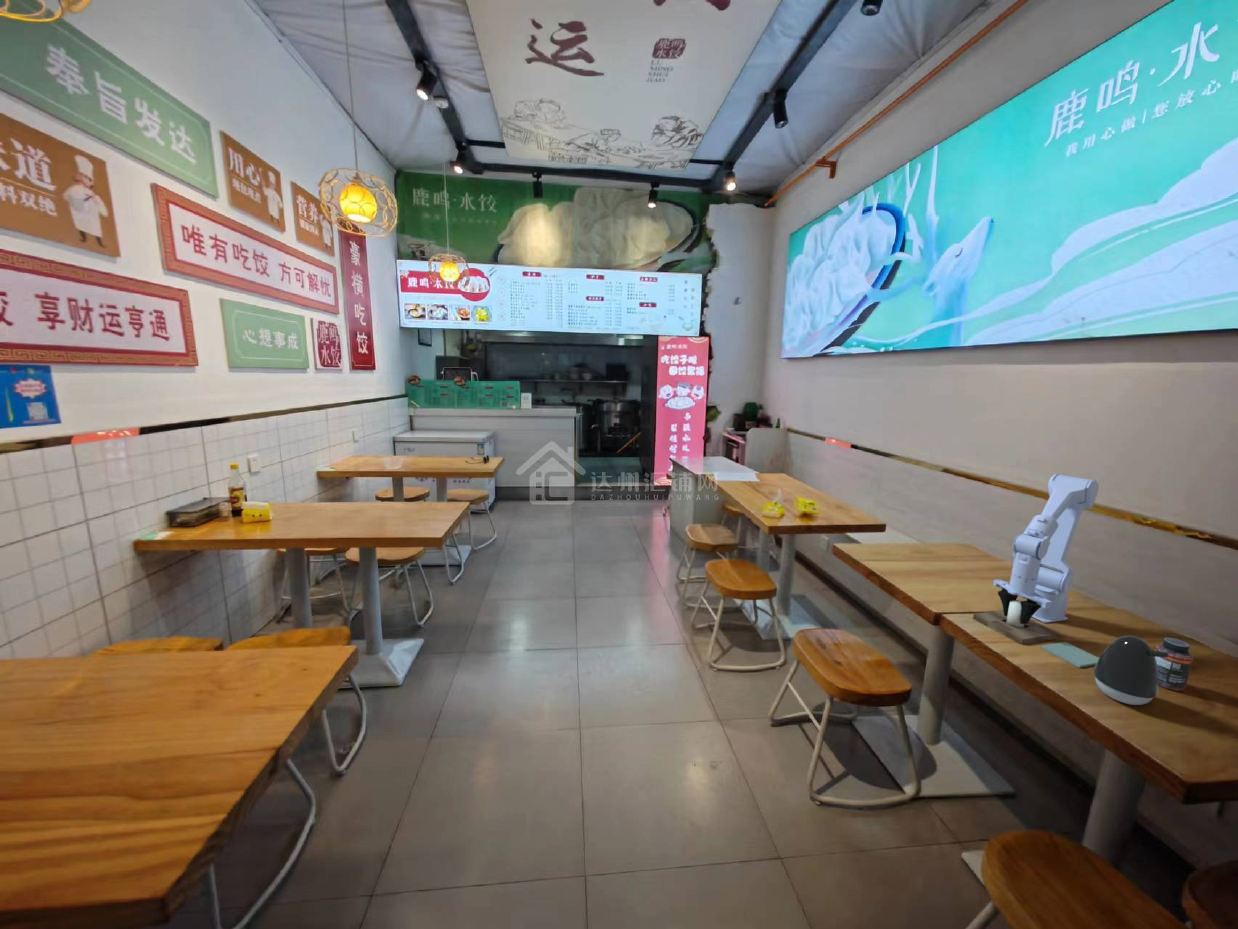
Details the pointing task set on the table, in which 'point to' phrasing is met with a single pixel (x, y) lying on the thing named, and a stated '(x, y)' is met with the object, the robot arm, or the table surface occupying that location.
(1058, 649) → the rubber mat
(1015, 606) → the white cylinder
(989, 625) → the socket board
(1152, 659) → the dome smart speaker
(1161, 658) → the supplement bottle
